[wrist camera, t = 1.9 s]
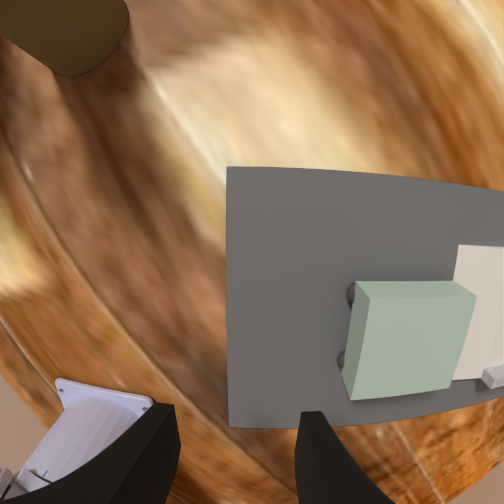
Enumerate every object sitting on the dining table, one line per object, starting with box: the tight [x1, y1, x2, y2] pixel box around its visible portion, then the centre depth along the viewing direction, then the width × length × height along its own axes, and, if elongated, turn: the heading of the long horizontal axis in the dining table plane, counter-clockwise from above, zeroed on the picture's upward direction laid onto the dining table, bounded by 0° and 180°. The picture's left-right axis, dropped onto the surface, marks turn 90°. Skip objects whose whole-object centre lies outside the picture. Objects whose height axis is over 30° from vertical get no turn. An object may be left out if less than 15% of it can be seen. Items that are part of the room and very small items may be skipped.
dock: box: [226, 167, 504, 429], centre depth 15 cm, size 16×28×4 cm, turn 89°
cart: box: [337, 281, 477, 400], centre depth 15 cm, size 6×7×3 cm
